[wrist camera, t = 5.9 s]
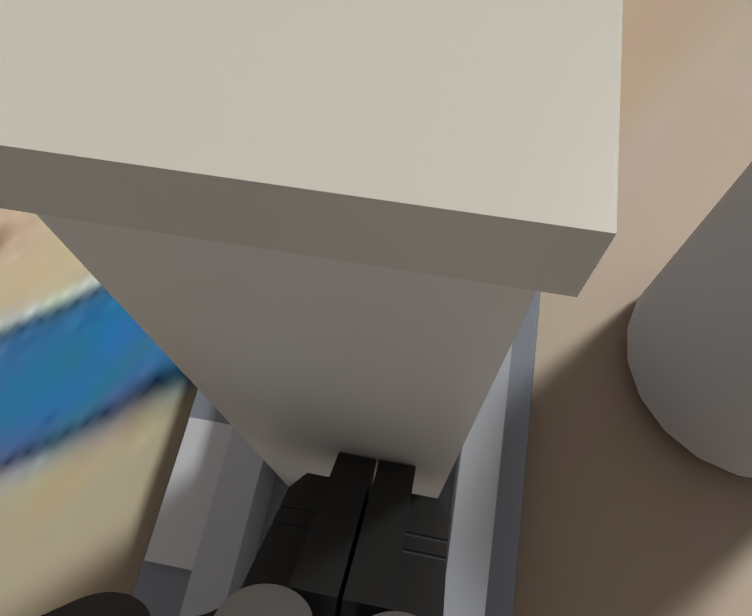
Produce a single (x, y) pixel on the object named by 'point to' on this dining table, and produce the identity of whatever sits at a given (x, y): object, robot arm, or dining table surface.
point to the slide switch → (266, 489)
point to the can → (702, 337)
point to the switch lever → (322, 195)
